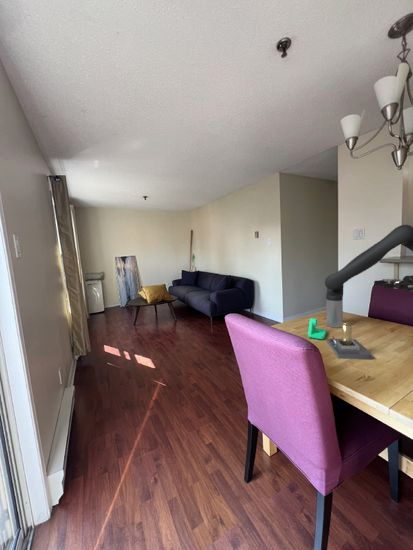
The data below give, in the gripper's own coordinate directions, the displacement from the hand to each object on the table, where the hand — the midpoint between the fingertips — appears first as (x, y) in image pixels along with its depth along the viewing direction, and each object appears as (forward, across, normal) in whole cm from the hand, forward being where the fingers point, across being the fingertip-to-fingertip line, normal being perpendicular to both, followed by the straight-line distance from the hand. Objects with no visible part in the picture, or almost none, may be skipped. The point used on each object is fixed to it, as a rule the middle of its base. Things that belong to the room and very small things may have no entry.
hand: (378, 284), depth 111 cm
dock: (+15, +4, +32) cm, 36 cm away
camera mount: (+24, -14, +32) cm, 43 cm away
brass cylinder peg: (+16, +6, +30) cm, 34 cm away
